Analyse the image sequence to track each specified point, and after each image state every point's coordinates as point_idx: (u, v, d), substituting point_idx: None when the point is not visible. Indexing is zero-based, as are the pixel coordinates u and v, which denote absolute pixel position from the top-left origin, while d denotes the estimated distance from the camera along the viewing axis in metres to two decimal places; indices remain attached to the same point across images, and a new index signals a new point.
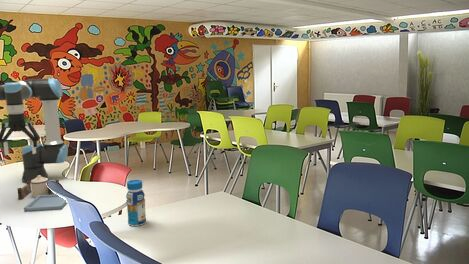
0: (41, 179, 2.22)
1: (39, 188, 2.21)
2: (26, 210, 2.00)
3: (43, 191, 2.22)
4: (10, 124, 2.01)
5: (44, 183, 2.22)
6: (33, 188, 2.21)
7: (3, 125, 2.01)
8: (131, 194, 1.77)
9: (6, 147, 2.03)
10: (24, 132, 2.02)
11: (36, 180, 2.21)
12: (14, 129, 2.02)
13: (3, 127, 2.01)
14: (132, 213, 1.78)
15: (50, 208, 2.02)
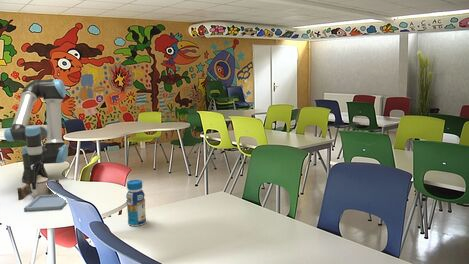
0: (41, 179, 2.22)
1: (39, 188, 2.21)
2: (26, 210, 2.00)
3: (43, 191, 2.22)
4: None
5: (44, 183, 2.22)
6: None
7: None
8: (131, 194, 1.77)
9: None
10: None
11: None
12: None
13: None
14: (132, 213, 1.78)
15: (50, 208, 2.02)
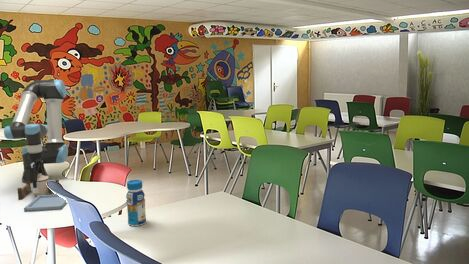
0: (42, 177, 2.23)
1: (39, 186, 2.22)
2: (26, 210, 2.00)
3: (44, 189, 2.24)
4: None
5: (45, 181, 2.23)
6: None
7: None
8: (131, 194, 1.77)
9: None
10: None
11: (37, 178, 2.22)
12: None
13: None
14: (132, 213, 1.78)
15: (50, 208, 2.02)
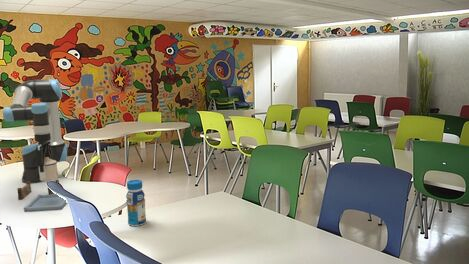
0: (49, 161, 2.05)
1: (47, 170, 2.04)
2: (26, 210, 2.00)
3: (52, 174, 2.05)
4: None
5: (52, 165, 2.05)
6: None
7: None
8: (131, 194, 1.77)
9: None
10: None
11: (44, 162, 2.04)
12: None
13: None
14: (132, 213, 1.78)
15: (50, 208, 2.02)
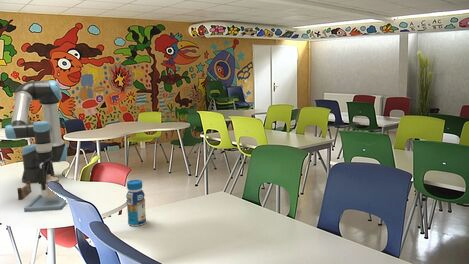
0: (51, 179, 2.07)
1: (48, 188, 2.06)
2: (26, 210, 2.00)
3: None
4: None
5: None
6: None
7: None
8: (131, 194, 1.77)
9: None
10: None
11: (46, 180, 2.06)
12: None
13: None
14: (132, 213, 1.78)
15: (50, 208, 2.02)
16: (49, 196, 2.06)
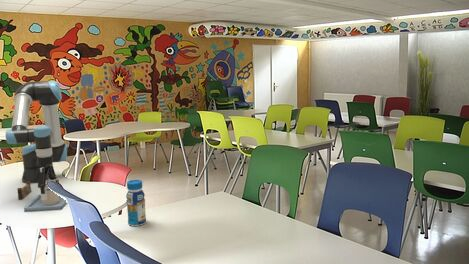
0: None
1: (49, 194, 2.06)
2: (26, 210, 2.00)
3: (54, 198, 2.08)
4: None
5: None
6: None
7: None
8: (131, 194, 1.77)
9: None
10: None
11: (46, 186, 2.06)
12: None
13: None
14: (132, 213, 1.78)
15: (50, 208, 2.02)
16: (50, 203, 2.07)
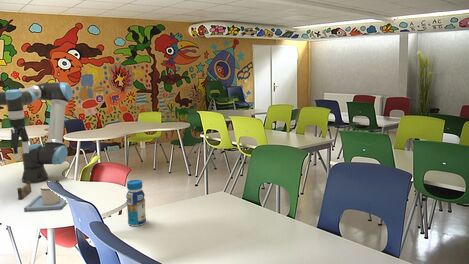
0: None
1: (49, 194, 2.06)
2: (26, 210, 2.00)
3: (54, 198, 2.08)
4: None
5: None
6: (43, 195, 2.06)
7: None
8: (131, 194, 1.77)
9: (24, 146, 2.25)
10: None
11: (46, 186, 2.06)
12: None
13: None
14: (132, 213, 1.78)
15: (50, 208, 2.02)
16: (50, 203, 2.07)
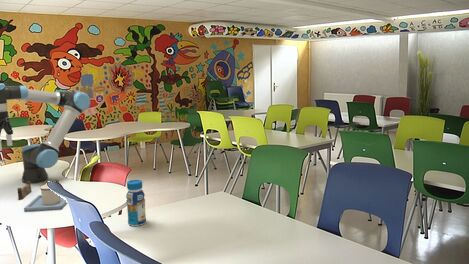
0: None
1: (49, 194, 2.06)
2: (26, 210, 2.00)
3: (54, 198, 2.08)
4: None
5: None
6: (43, 195, 2.06)
7: None
8: (131, 194, 1.77)
9: (8, 139, 2.32)
10: None
11: (46, 186, 2.06)
12: None
13: None
14: (132, 213, 1.78)
15: (50, 208, 2.02)
16: (50, 203, 2.07)
